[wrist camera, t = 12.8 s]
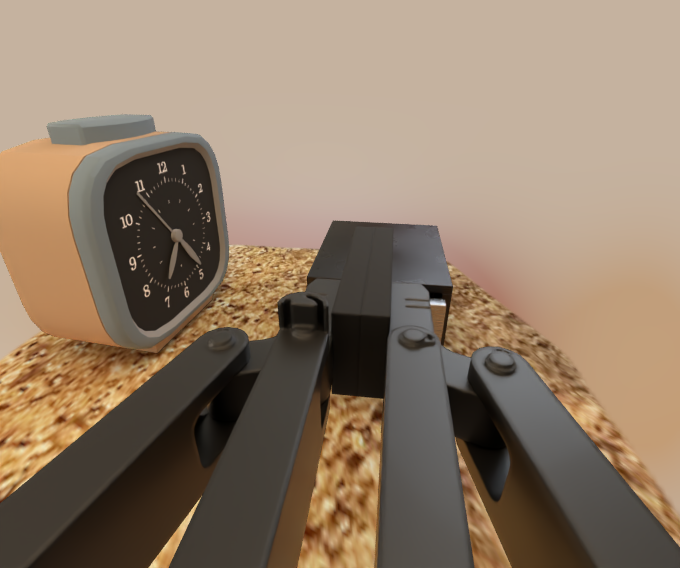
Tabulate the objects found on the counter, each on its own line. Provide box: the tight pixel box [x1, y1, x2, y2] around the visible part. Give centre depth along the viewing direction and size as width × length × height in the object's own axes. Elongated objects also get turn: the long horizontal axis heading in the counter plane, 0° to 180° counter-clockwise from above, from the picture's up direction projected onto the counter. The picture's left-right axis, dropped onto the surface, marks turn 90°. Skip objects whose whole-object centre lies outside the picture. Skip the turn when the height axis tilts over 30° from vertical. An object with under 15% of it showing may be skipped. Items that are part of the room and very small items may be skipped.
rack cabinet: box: [307, 221, 453, 346], centre depth 43 cm, size 16×13×10 cm
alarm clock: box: [0, 115, 229, 353], centre depth 41 cm, size 21×10×22 cm, turn 167°
